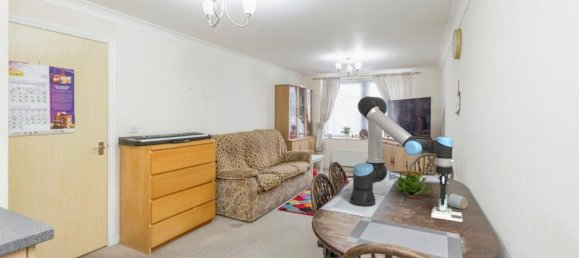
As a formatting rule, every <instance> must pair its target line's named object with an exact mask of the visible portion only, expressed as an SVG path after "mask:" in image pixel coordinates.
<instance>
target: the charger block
mask: <svg viewBox="0 0 579 258" xmlns="http://www.w3.org/2000/svg"><path fill="white" fill-rule="evenodd" d="M439 197H440V193H438V207H439V210H440V198H439ZM445 197H446V207H445V211H447V208H448V197H449V194H447V195H446V196H445ZM440 211H442V210H440Z"/></svg>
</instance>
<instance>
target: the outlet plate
mask: <svg viewBox="0 0 579 258" xmlns="http://www.w3.org/2000/svg"><path fill="white" fill-rule="evenodd" d="M462 214H463V213H462V212H460V211H458V212H457V211H453V210H452V208H448V207H447V211H440V210H439V206H433V208H432V209H431V214H430V217H431V218H435V219H441V220H447V221H448V220H449V221H454V222H459V223H460V222H461V223H463V215H462Z"/></svg>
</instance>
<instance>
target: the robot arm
mask: <svg viewBox="0 0 579 258" xmlns="http://www.w3.org/2000/svg"><path fill="white" fill-rule="evenodd" d="M388 109H389V104H388V103H387V101H386V100H385V98H381V97H379V96H377V97H376V96H364V97H362V98H361V99H359V101H358V103H357V110H358V113H359V114H361V115H362V116H363V117H364V118H365V119H366V120H367V159H366V160H365V162H363V163H355V165H354V166H353V170H352V174H353V175H352V191H351V194H350V197H349V203H350V204H352V205H355V206H359V207H372V206H375V205H376V197H375V194H374V190H373V188H374V184H375V183H380V182H383V181H384V180H386V179H387V177H388V173H389V170H388V167H387V166H386V165H385V163H386V162H385V160H384V159H383V132H384V133H385V134H386V135H388V136H389V137H390V138H392V139H393V140H394V141H395V142H396V143H398V144H399V145H400V146H401V147H402V148H403V150H404V152H405V154H407V155H409V156H418V155H424V154H433V155H435V165H436V166H435V173H436V174H440V175H439V177H438V181H439V186H440V191H439V194H440V197H439V196H438V199H439V198H440V210H442V211H445V207H446V197H445V196H446V195H448V194H447V192H446V191H447V185H448V180H449V178H448V176H447V175H452V174H453V173H452V172H453V171H452V170H453V167H452V166H453V162H454V160H453V149H454V148H453V146H454V145H453V138H452V137H450V136H436V139H423V138H415V137H414V136H413V135H411V134H410V133H409V132H408V131H407V130H405V129H404V128H403V127H402V126H400V125H399V124H398V123H396V122H395V121H394V120H393V119H392V118H390V117H389V116H388V115H387V114H386V113H387V112H388Z"/></svg>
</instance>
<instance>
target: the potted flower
mask: <svg viewBox="0 0 579 258" xmlns="http://www.w3.org/2000/svg"><path fill="white" fill-rule="evenodd" d="M398 173H399V176H398V175H397V176H395V178H396V179H397V185H396V184H392V185H393V186H394V187H395V188H396V191H398V192H400V193H404V194H405V196H406V197H408V198H413V199H414V198H415V199H418V198H422V195H423V194H430V193H434V192H436V191H435V190H433V189H427V188H428V186H426V183H425V182H424V181H427V178H428V176H426V177H424V175H423V173H422V172H419V171H418V170H415V171H414V170H411V169H410V170H407V171H406V172H405V171H404V170H400V171H398ZM420 179H421V180H420ZM423 182H424V183H423ZM426 189H427V190H426Z"/></svg>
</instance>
